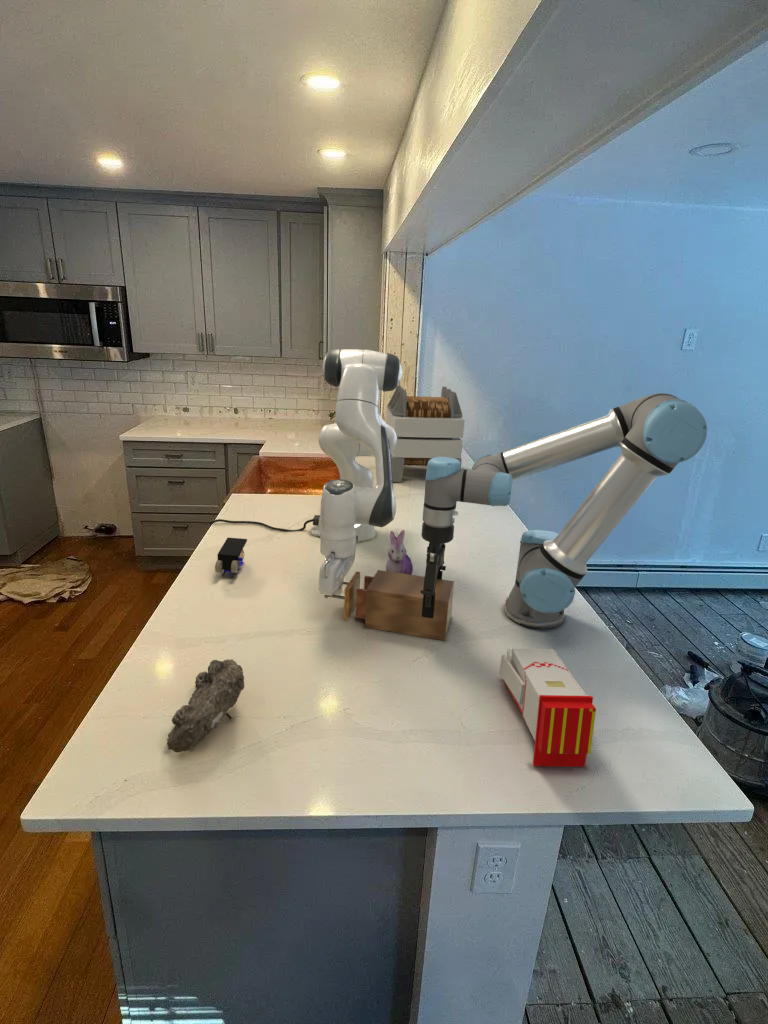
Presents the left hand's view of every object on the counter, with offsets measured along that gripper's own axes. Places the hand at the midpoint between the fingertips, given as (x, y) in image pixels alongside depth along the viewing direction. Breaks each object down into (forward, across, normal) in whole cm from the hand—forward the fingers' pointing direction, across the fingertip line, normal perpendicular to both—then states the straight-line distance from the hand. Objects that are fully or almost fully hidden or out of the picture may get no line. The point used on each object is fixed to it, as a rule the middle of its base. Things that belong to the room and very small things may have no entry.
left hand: (337, 594), depth 146 cm
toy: (+5, -28, -50) cm, 57 cm away
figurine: (+5, +23, -12) cm, 26 cm away
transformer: (+4, +138, 0) cm, 138 cm away
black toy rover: (+5, +14, +37) cm, 40 cm away
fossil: (+5, -45, +11) cm, 47 cm away
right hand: (-1, 0, -24) cm, 25 cm away
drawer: (+4, 0, -10) cm, 11 cm away
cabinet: (+5, 0, -19) cm, 20 cm away
